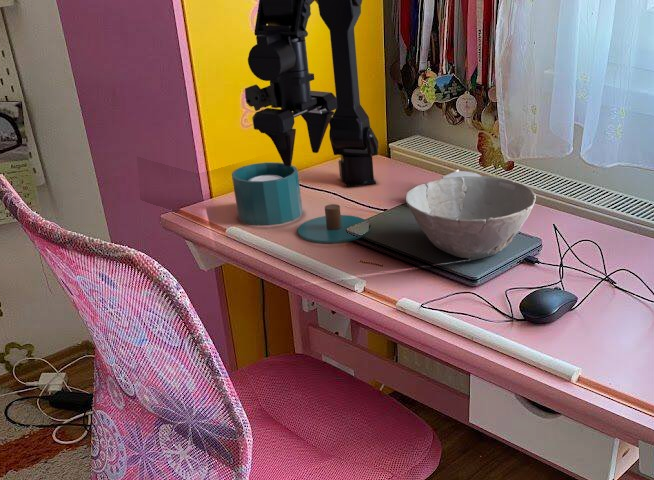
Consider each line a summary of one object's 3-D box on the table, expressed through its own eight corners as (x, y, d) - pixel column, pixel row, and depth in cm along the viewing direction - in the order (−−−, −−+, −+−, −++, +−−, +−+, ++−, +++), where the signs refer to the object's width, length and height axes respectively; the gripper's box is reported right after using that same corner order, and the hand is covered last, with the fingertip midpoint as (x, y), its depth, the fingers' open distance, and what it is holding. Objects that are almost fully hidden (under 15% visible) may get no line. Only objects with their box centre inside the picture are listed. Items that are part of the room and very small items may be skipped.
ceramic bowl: (442, 220, 166) (440, 169, 160) (553, 239, 157) (555, 185, 152) (382, 262, 149) (379, 206, 144) (503, 285, 140) (504, 226, 135)
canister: (296, 203, 175) (291, 159, 170) (307, 223, 165) (302, 177, 160) (235, 210, 172) (228, 166, 167) (243, 231, 162) (235, 185, 157)
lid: (361, 216, 168) (359, 191, 165) (378, 240, 157) (376, 214, 155) (293, 225, 164) (289, 199, 162) (305, 250, 154) (302, 223, 151)
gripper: (282, 56, 158) (292, 141, 166) (219, 76, 144) (234, 168, 152) (334, 60, 154) (342, 147, 163) (276, 81, 140) (287, 175, 148)
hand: (301, 159), depth 157 cm, fingers open, 9 cm apart
